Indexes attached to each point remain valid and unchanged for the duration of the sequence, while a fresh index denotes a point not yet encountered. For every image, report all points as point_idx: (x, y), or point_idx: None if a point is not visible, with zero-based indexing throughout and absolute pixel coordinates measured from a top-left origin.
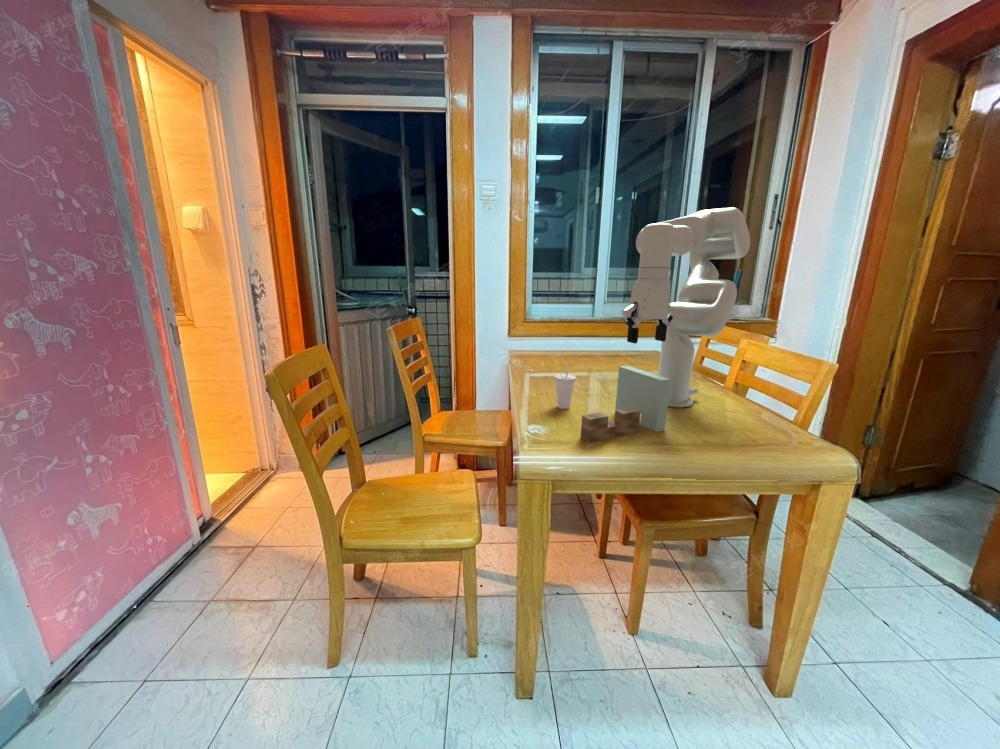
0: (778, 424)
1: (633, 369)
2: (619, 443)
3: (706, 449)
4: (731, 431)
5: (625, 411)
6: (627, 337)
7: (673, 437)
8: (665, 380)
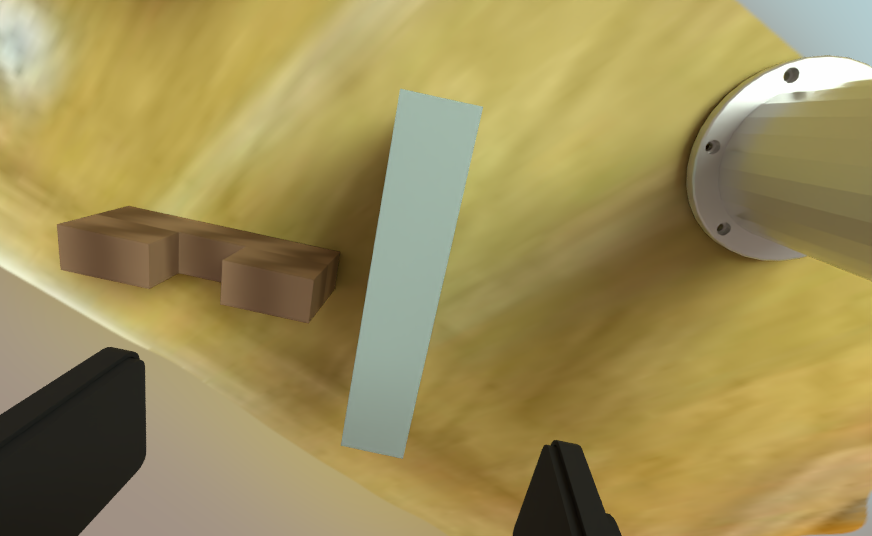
0: (781, 503)
1: (415, 214)
2: (216, 302)
3: None
4: (596, 445)
5: (247, 293)
6: (71, 371)
7: None
8: (366, 448)
